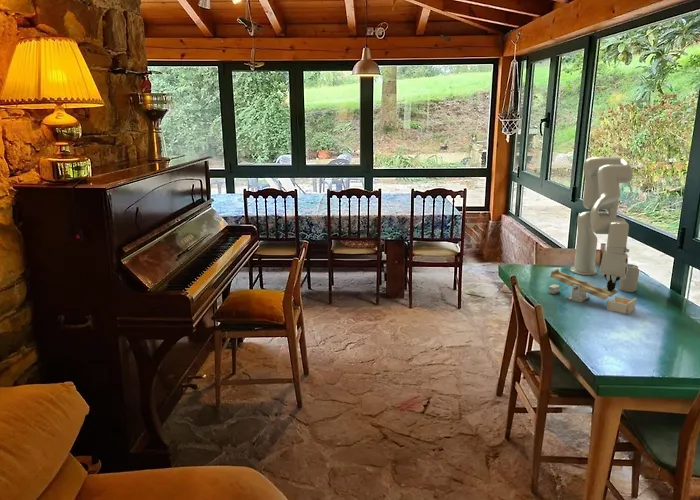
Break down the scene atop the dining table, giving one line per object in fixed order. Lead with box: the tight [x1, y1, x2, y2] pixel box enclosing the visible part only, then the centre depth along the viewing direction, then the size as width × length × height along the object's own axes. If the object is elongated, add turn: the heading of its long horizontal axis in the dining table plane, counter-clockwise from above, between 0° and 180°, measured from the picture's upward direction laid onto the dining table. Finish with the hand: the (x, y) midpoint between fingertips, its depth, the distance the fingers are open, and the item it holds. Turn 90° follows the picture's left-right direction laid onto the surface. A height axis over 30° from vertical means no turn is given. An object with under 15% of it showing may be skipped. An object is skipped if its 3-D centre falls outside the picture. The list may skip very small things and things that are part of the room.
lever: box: [549, 268, 619, 300], centre depth 236 cm, size 25×14×3 cm, turn 44°
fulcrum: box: [547, 280, 590, 304], centre depth 237 cm, size 16×11×7 cm, turn 44°
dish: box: [606, 295, 637, 316], centre depth 222 cm, size 8×8×5 cm
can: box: [618, 263, 640, 293], centre depth 244 cm, size 8×8×12 cm
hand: (610, 289), depth 232 cm, fingers closed
